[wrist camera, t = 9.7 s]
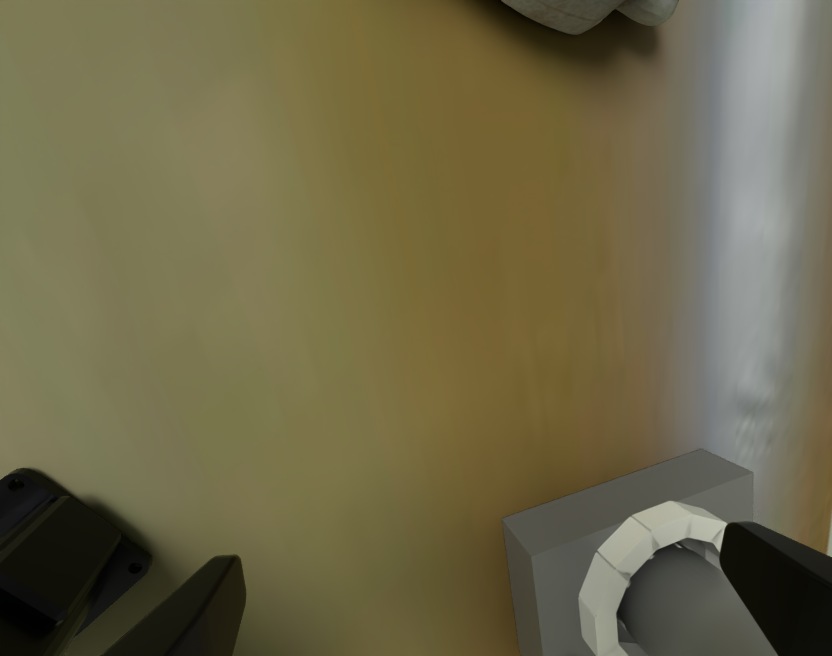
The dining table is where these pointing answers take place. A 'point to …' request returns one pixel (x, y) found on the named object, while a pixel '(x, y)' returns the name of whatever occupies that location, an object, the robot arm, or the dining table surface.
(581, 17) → the handheld device
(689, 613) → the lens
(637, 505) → the grey rectangular block
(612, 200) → the dining table surface
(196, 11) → the dining table surface
